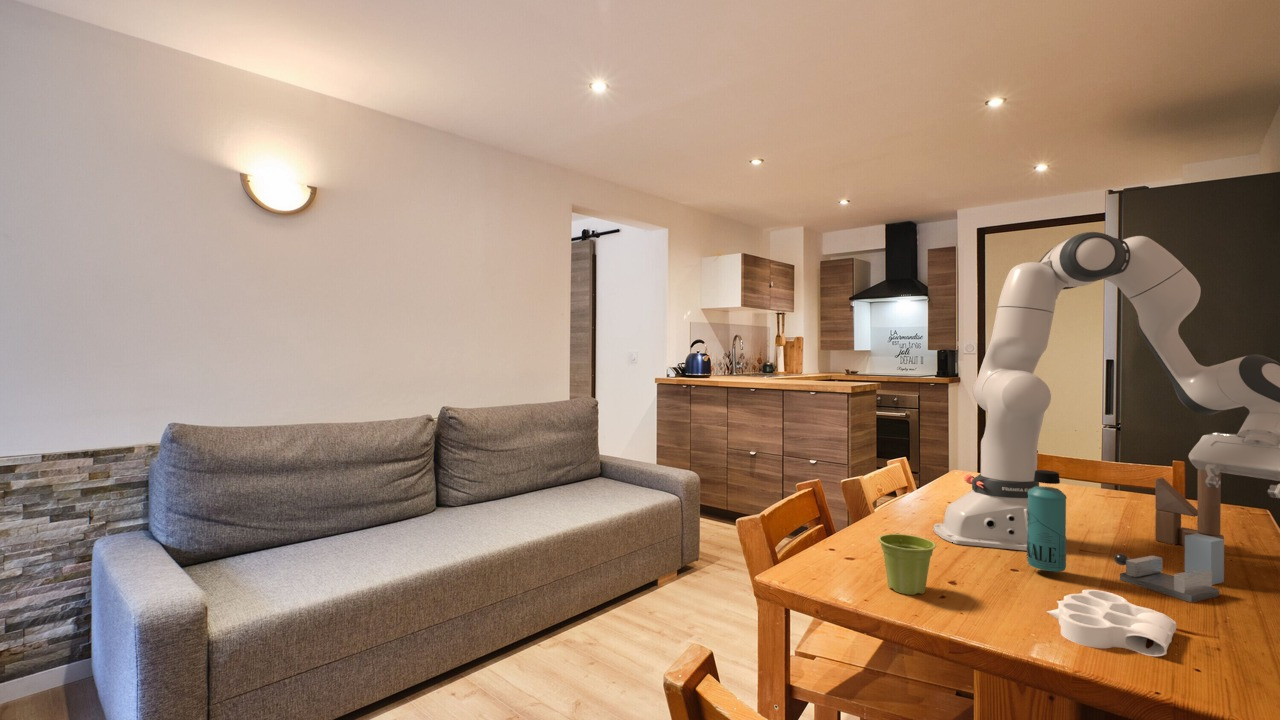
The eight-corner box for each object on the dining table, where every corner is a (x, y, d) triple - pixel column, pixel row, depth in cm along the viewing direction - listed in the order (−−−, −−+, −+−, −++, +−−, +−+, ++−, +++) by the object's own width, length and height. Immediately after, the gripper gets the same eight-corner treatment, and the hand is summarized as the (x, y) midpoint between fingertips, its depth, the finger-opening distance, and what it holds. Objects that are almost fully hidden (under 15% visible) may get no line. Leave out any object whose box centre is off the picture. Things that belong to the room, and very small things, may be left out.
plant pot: (881, 576, 113) (881, 530, 113) (936, 584, 109) (936, 537, 109) (875, 593, 105) (875, 544, 105) (934, 603, 101) (935, 552, 101)
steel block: (1211, 585, 109) (1211, 541, 109) (1184, 577, 113) (1184, 535, 112) (1223, 582, 110) (1224, 539, 110) (1197, 574, 114) (1197, 533, 114)
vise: (1191, 602, 101) (1191, 579, 101) (1119, 579, 111) (1120, 558, 111) (1219, 596, 104) (1219, 573, 104) (1146, 574, 114) (1147, 553, 114)
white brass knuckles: (1162, 671, 80) (1035, 634, 90) (1178, 630, 92) (1065, 601, 103) (1162, 646, 80) (1035, 612, 90) (1179, 608, 92) (1065, 582, 103)
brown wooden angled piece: (1161, 538, 137) (1162, 460, 137) (1224, 552, 127) (1224, 468, 127) (1154, 541, 135) (1154, 462, 135) (1217, 554, 125) (1217, 470, 125)
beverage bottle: (1060, 569, 116) (1060, 468, 116) (1072, 582, 110) (1073, 475, 110) (1022, 566, 119) (1022, 466, 118) (1031, 577, 112) (1032, 472, 112)
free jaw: (1134, 577, 109) (1135, 563, 109) (1101, 566, 114) (1101, 553, 114) (1162, 571, 112) (1162, 557, 112) (1128, 561, 117) (1128, 548, 117)
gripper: (1199, 421, 128) (1170, 470, 124) (1336, 433, 109) (1307, 490, 105) (1211, 441, 129) (1183, 489, 126) (1349, 456, 110) (1320, 513, 107)
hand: (1241, 490), depth 115 cm, fingers open, 8 cm apart
